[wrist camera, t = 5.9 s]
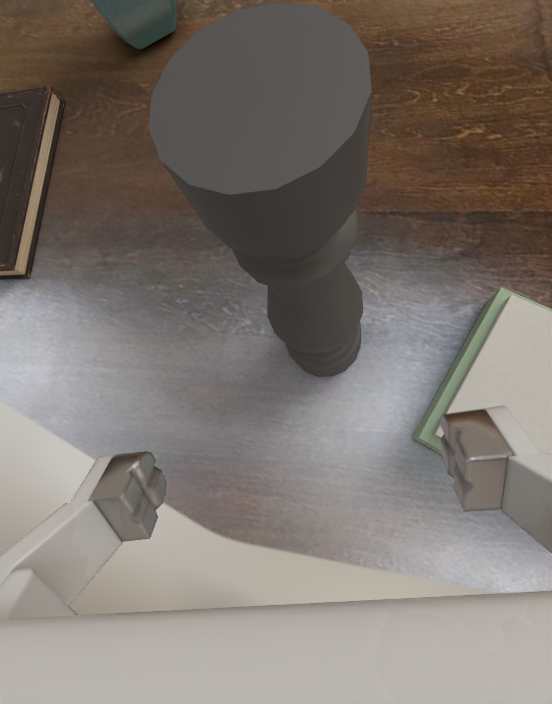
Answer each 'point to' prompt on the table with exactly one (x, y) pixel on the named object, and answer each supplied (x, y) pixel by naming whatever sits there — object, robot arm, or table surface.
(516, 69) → the table surface
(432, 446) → the scale
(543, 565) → the table surface
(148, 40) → the flower pot
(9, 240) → the hardcover book
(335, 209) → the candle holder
